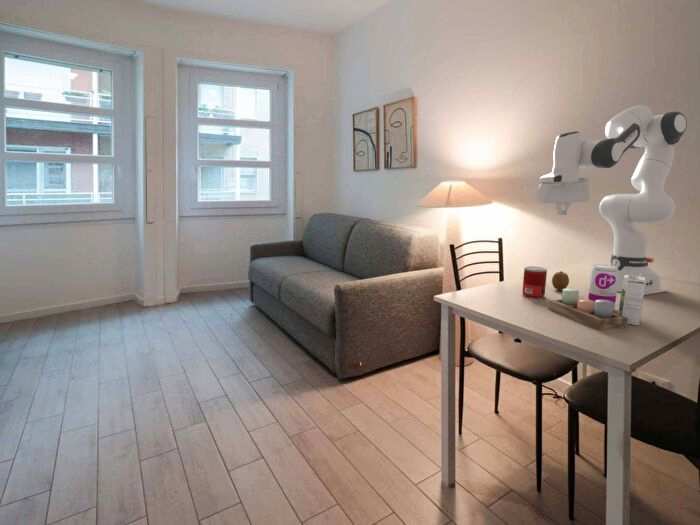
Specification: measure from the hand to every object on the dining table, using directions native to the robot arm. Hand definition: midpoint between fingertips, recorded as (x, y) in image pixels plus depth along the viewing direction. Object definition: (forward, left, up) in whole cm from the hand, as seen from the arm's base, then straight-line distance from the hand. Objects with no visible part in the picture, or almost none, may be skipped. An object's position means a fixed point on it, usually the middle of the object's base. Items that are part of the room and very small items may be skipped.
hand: (561, 215), depth 152 cm
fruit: (-8, -7, -32) cm, 33 cm away
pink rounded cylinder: (+9, +25, -31) cm, 41 cm away
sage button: (+9, +18, -29) cm, 35 cm away
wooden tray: (+9, +25, -32) cm, 41 cm away
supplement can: (-4, +18, -32) cm, 37 cm away
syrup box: (-1, +32, -32) cm, 45 cm away
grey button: (+9, +32, -29) cm, 44 cm away
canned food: (+8, -2, -32) cm, 33 cm away
